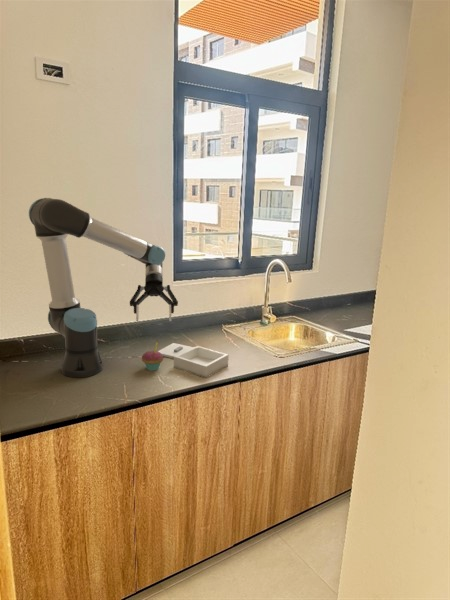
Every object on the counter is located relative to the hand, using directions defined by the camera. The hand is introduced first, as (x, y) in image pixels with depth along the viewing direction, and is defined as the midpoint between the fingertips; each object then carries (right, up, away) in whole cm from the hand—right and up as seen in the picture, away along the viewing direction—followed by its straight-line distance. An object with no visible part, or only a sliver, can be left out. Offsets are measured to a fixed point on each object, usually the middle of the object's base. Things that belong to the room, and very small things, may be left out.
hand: (153, 319), depth 172 cm
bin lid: (+9, -15, +12) cm, 21 cm away
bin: (+20, -19, -2) cm, 28 cm away
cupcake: (0, -19, -6) cm, 20 cm away
